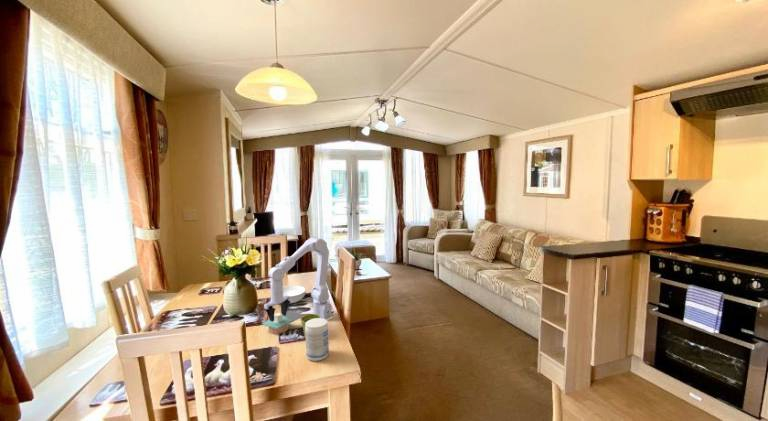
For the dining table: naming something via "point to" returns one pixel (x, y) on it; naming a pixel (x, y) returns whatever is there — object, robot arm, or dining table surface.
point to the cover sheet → (277, 325)
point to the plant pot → (307, 318)
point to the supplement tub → (316, 339)
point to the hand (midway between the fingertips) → (278, 317)
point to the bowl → (278, 330)
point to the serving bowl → (294, 293)
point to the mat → (293, 315)
